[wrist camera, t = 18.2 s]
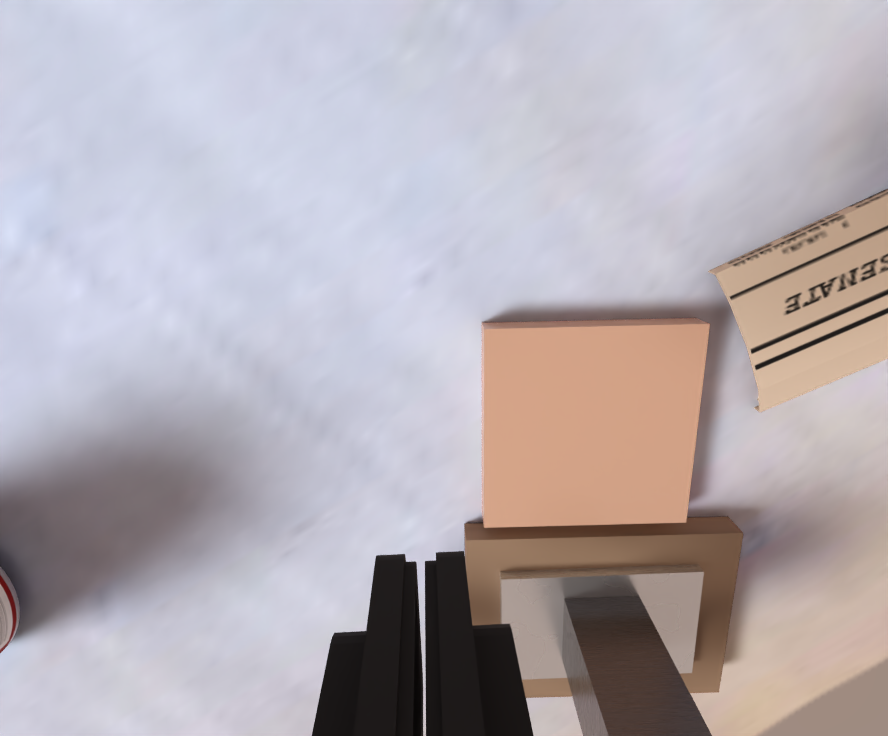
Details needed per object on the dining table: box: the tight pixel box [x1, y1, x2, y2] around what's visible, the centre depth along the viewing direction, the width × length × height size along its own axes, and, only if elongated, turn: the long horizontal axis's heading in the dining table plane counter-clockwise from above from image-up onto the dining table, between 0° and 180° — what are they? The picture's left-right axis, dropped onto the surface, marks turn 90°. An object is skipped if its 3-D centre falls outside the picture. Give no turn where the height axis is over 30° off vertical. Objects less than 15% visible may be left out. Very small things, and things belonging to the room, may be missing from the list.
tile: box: [482, 318, 710, 528], centre depth 21 cm, size 8×2×8 cm
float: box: [500, 564, 712, 736], centre depth 19 cm, size 5×8×8 cm, turn 92°
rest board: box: [464, 517, 743, 698], centre depth 23 cm, size 8×11×1 cm
